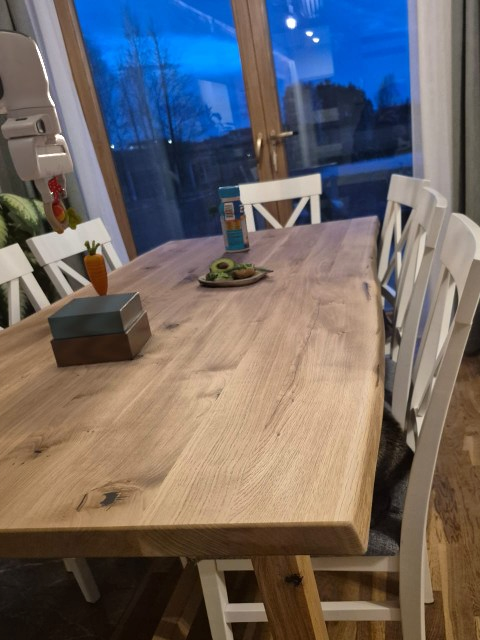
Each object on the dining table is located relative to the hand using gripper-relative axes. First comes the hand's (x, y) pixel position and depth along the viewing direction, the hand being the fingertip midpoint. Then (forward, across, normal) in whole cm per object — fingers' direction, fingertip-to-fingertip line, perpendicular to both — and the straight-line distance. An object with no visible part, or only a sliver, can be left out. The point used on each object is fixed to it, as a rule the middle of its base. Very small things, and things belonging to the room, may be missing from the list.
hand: (56, 200), depth 119 cm
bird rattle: (+7, 0, 0) cm, 7 cm away
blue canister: (+27, -70, +27) cm, 80 cm away
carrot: (+26, -21, -3) cm, 34 cm away
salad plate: (+27, -28, +30) cm, 49 cm away
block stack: (+26, +21, +10) cm, 35 cm away
